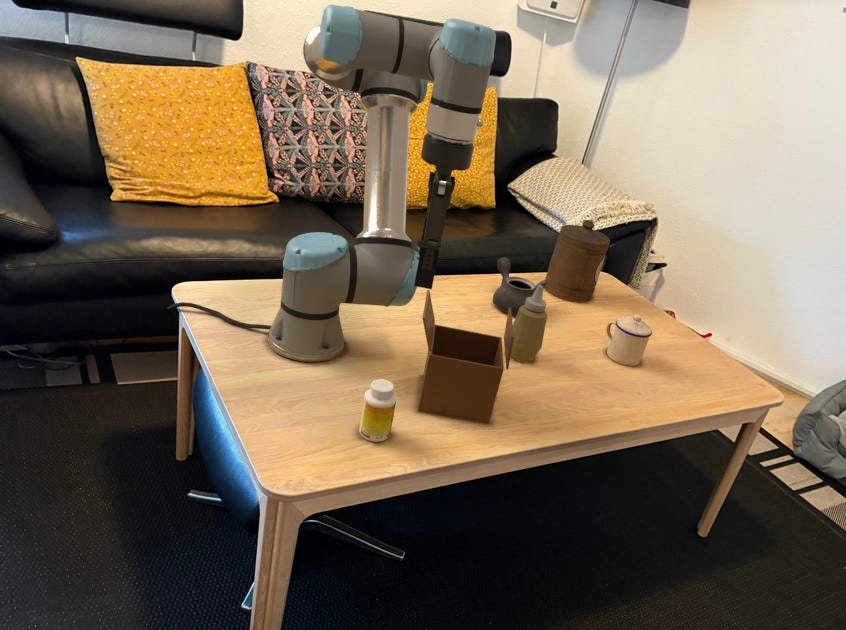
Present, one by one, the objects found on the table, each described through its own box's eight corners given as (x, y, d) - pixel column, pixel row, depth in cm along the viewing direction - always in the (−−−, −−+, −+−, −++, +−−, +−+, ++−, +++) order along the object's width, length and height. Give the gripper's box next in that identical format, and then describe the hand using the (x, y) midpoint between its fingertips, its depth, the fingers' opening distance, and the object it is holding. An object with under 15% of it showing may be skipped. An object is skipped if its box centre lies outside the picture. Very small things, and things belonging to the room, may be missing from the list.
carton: (417, 411, 128) (436, 321, 119) (422, 376, 140) (439, 293, 131) (493, 424, 130) (517, 337, 121) (492, 389, 141) (513, 307, 132)
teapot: (553, 316, 182) (564, 282, 177) (509, 321, 173) (518, 286, 168) (512, 286, 194) (521, 254, 190) (469, 289, 185) (477, 255, 181)
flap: (431, 351, 122) (428, 351, 122) (435, 321, 133) (433, 321, 133) (424, 317, 119) (422, 318, 119) (429, 289, 130) (427, 289, 130)
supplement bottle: (393, 442, 118) (402, 394, 113) (362, 444, 116) (370, 394, 111) (385, 423, 123) (394, 376, 118) (355, 424, 120) (363, 376, 116)
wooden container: (600, 303, 198) (624, 232, 187) (557, 301, 191) (578, 228, 181) (577, 281, 209) (598, 214, 199) (535, 279, 203) (554, 209, 193)
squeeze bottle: (535, 368, 154) (556, 297, 145) (501, 359, 154) (520, 287, 146) (539, 353, 161) (559, 285, 152) (506, 344, 161) (525, 275, 153)
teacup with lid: (647, 363, 169) (663, 322, 163) (625, 369, 163) (640, 327, 158) (612, 340, 176) (626, 300, 171) (589, 345, 171) (603, 304, 165)
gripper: (477, 162, 89) (446, 306, 99) (473, 127, 110) (448, 248, 120) (420, 150, 88) (395, 297, 98) (428, 117, 109) (406, 240, 119)
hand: (424, 270), depth 109 cm, fingers open, 13 cm apart
